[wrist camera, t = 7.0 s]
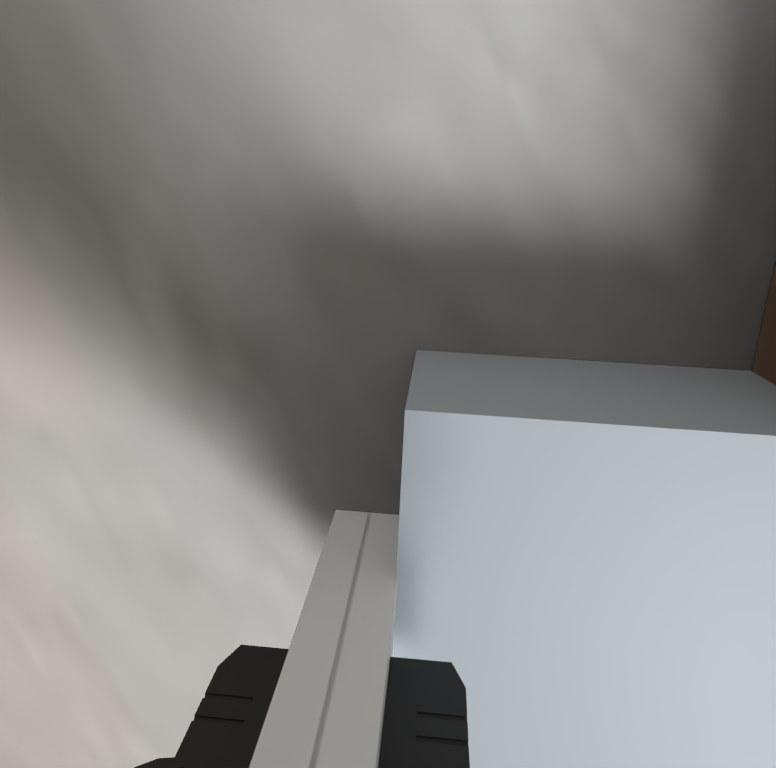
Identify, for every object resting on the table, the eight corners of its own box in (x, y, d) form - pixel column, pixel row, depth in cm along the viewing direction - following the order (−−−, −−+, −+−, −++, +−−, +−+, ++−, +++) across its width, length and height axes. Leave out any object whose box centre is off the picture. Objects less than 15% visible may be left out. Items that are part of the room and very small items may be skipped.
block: (401, 622, 16) (386, 759, 12) (416, 349, 14) (404, 410, 10) (689, 649, 15) (770, 801, 11) (750, 371, 13) (874, 442, 9)
